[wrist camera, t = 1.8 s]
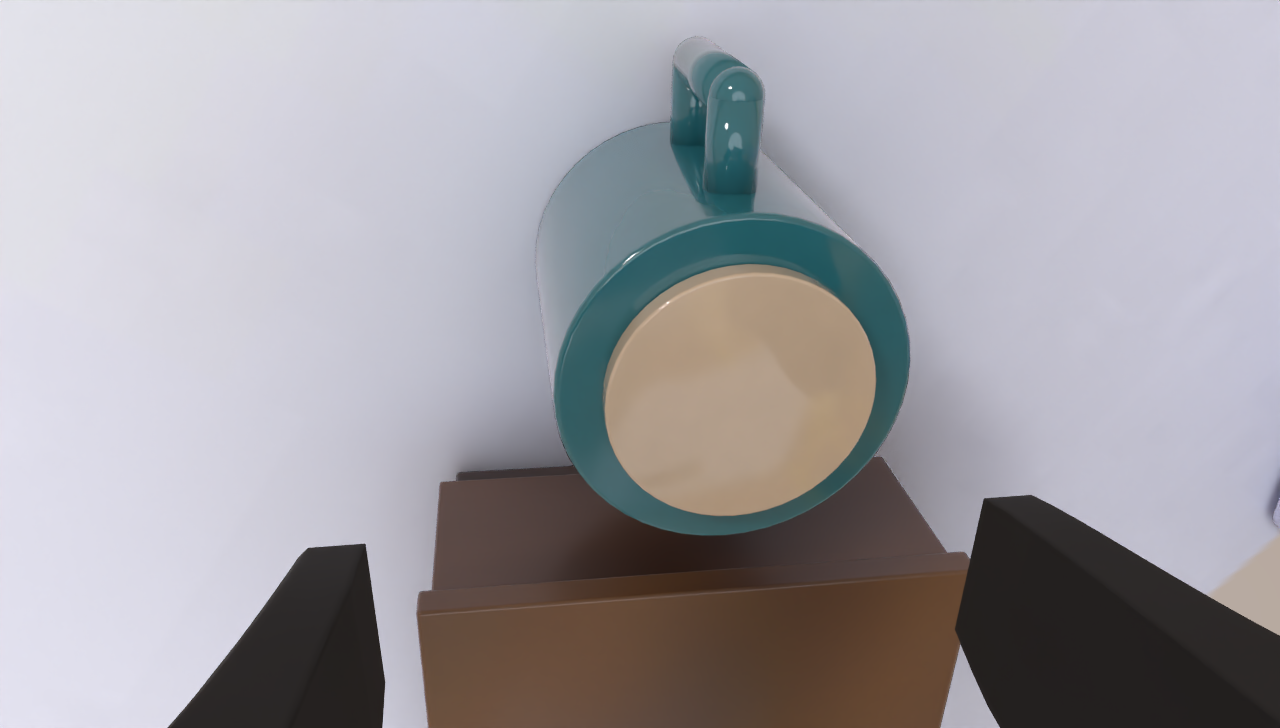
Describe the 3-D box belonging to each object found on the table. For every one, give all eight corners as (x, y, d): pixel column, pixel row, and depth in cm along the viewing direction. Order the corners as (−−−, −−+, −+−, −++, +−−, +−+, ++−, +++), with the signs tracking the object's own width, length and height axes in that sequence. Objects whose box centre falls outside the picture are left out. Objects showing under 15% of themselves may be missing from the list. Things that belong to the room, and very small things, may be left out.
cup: (826, 25, 17) (977, 90, 12) (787, 370, 20) (893, 541, 15) (529, 22, 16) (550, 90, 11) (537, 381, 20) (556, 565, 14)
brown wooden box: (891, 428, 22) (995, 569, 17) (836, 739, 26) (908, 913, 22) (430, 452, 20) (415, 613, 16) (458, 777, 25) (452, 973, 20)
